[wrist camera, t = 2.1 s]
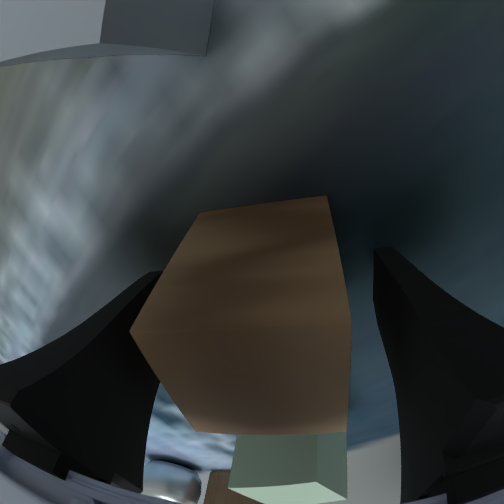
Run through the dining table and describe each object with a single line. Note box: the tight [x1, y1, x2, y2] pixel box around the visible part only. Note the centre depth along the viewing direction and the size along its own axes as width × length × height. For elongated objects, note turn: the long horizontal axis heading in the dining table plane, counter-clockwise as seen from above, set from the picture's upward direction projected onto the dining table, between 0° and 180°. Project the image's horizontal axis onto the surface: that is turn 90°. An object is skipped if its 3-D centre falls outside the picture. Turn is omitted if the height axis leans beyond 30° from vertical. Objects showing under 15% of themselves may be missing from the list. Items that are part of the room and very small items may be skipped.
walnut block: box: [129, 195, 352, 435], centre depth 9 cm, size 4×4×6 cm
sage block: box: [228, 432, 347, 504], centre depth 15 cm, size 4×4×6 cm
